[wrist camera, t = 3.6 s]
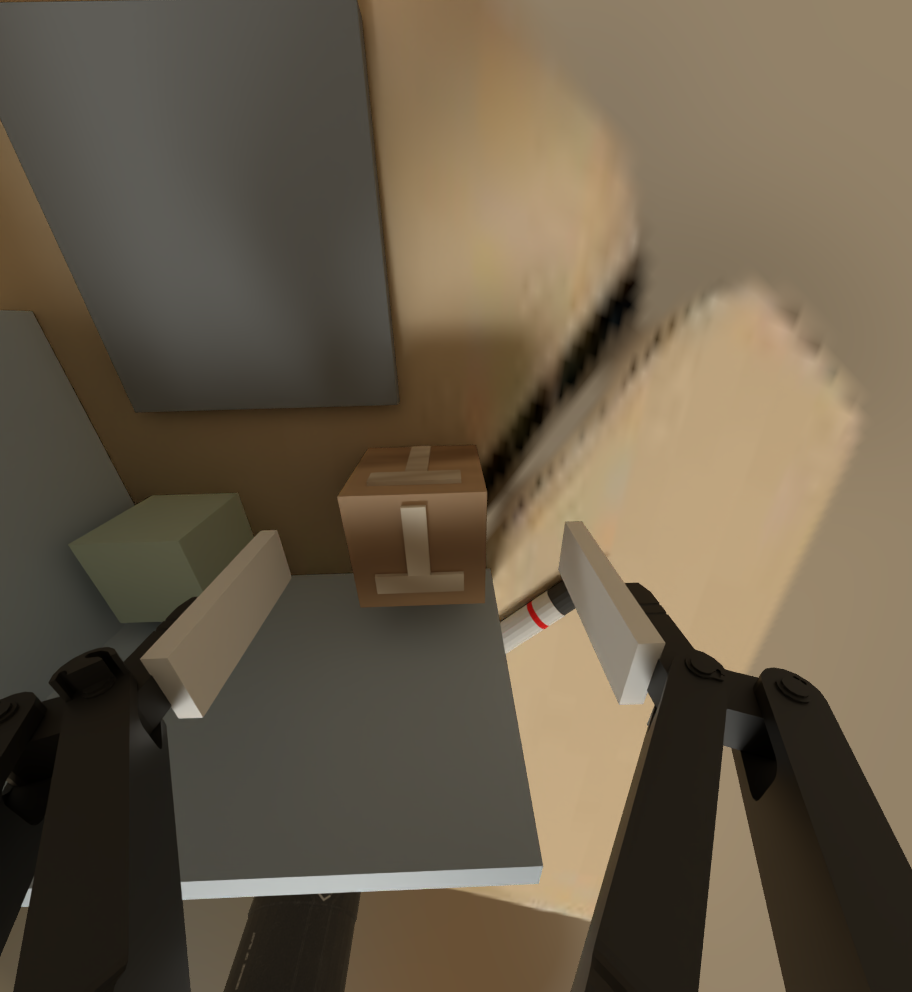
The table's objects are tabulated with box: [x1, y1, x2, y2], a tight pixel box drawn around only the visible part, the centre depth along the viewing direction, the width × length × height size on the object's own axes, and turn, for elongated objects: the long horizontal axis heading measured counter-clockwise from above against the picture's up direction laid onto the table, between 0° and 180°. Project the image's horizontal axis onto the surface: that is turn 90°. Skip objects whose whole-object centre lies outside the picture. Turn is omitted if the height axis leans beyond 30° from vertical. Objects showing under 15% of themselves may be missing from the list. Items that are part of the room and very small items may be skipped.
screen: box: [0, 310, 543, 907], centre depth 13 cm, size 17×23×14 cm
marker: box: [500, 581, 575, 654], centre depth 25 cm, size 15×2×2 cm, turn 134°
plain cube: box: [68, 493, 254, 623], centre depth 19 cm, size 5×5×5 cm
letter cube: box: [337, 445, 487, 608], centre depth 17 cm, size 6×6×6 cm
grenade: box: [224, 892, 361, 992], centre depth 27 cm, size 9×11×20 cm
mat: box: [0, 0, 400, 412], centre depth 14 cm, size 13×13×1 cm
